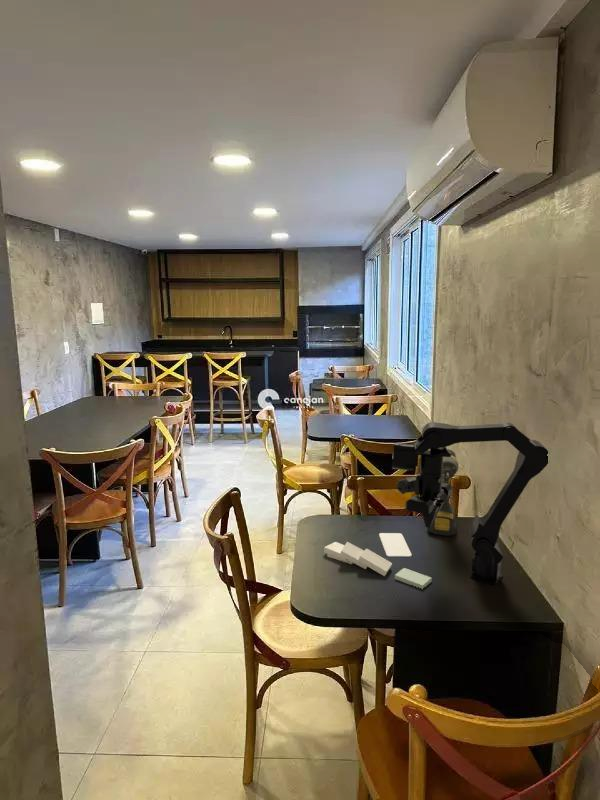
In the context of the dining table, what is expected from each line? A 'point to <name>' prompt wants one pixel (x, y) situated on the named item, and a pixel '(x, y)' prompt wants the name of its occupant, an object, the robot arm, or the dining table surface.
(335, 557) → the tile
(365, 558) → the tile
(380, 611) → the dining table surface
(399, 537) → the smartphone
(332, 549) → the tile
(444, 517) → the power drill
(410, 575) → the tile
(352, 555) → the tile
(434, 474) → the robot arm
